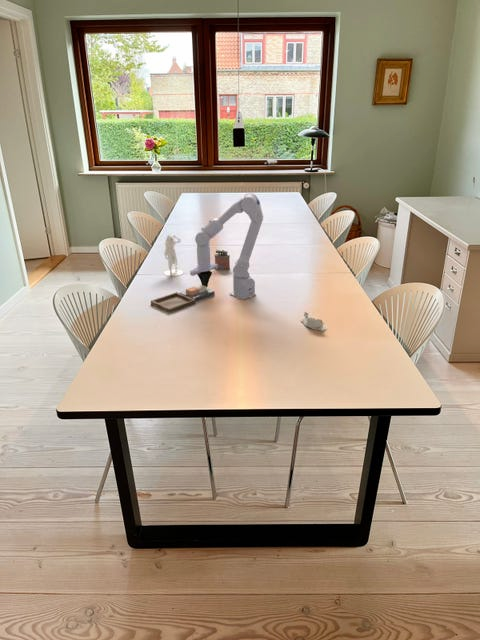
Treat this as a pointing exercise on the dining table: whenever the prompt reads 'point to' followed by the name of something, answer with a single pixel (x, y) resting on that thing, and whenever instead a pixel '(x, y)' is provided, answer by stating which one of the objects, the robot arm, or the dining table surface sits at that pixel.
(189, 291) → the tile
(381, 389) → the dining table surface
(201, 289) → the tile
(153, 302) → the box
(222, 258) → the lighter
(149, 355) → the dining table surface
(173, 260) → the female figurine
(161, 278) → the dining table surface
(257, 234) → the robot arm
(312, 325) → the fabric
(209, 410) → the dining table surface
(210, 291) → the slate plate
